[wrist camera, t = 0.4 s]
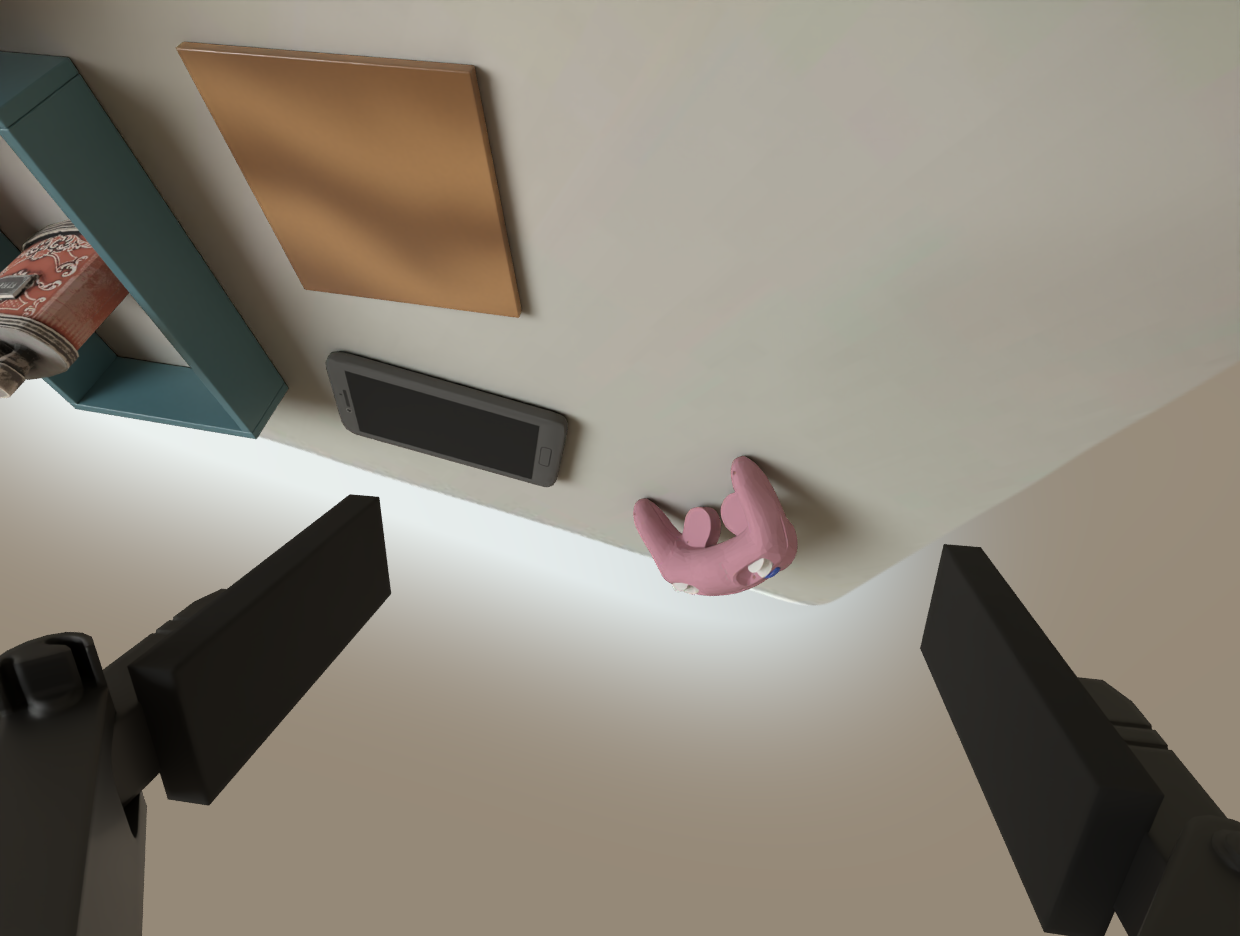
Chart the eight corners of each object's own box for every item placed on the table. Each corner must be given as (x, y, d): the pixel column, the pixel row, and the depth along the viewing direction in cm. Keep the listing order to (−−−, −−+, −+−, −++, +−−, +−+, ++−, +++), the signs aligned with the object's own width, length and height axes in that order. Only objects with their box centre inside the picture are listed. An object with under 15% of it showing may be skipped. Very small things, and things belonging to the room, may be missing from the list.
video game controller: (674, 503, 46) (693, 605, 44) (624, 501, 43) (642, 610, 41) (791, 456, 39) (819, 575, 37) (740, 450, 36) (768, 579, 34)
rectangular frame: (-194, 34, 27) (-287, 83, 25) (69, 56, 25) (-6, 112, 23) (115, 361, 43) (75, 409, 41) (289, 388, 41) (256, 439, 39)
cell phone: (557, 480, 44) (554, 490, 43) (347, 422, 43) (342, 431, 42) (571, 415, 37) (567, 426, 37) (326, 346, 37) (320, 356, 36)
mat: (182, 41, 24) (174, 47, 24) (474, 64, 22) (470, 71, 22) (308, 283, 33) (304, 289, 33) (522, 311, 32) (519, 318, 31)
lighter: (125, 210, 31) (-31, 365, 26) (180, 268, 34) (50, 420, 29) (16, 228, 34) (-146, 372, 29) (75, 281, 37) (-63, 422, 31)
